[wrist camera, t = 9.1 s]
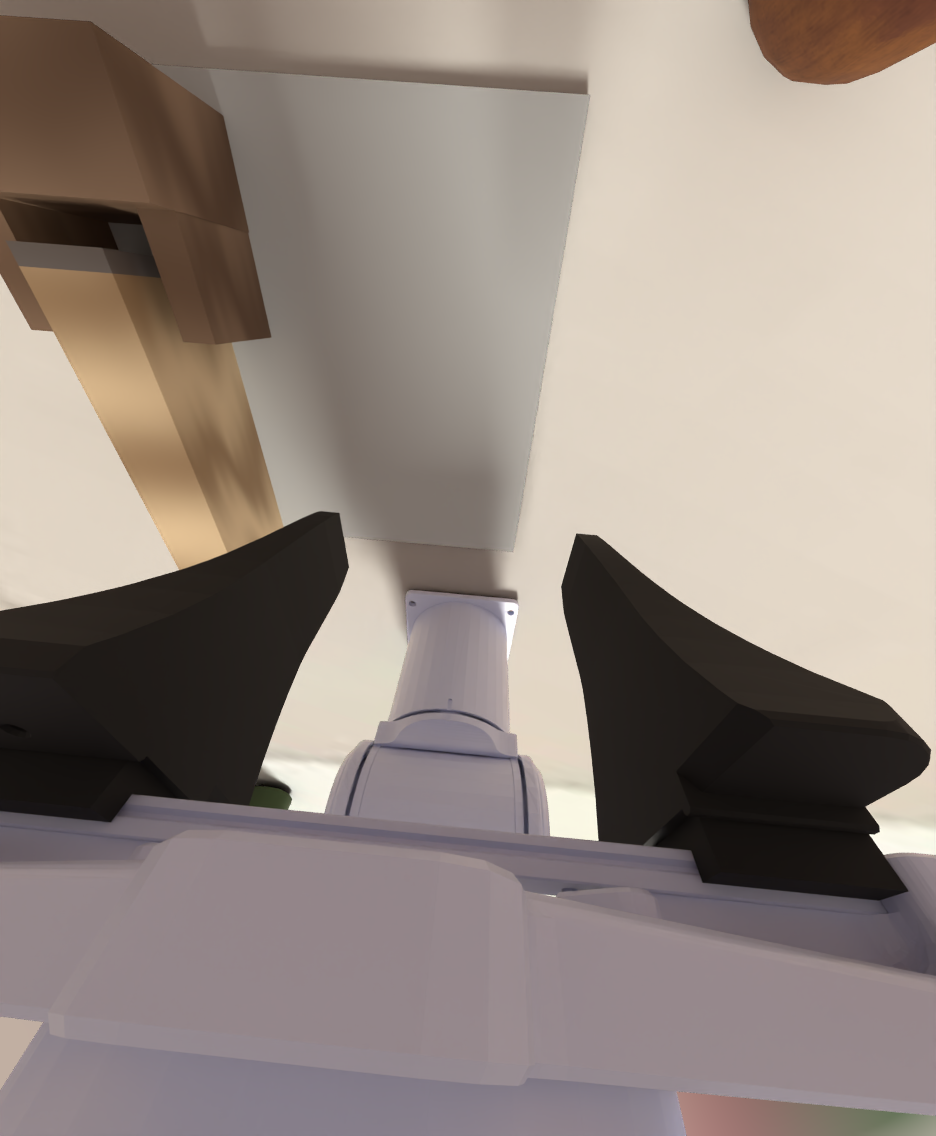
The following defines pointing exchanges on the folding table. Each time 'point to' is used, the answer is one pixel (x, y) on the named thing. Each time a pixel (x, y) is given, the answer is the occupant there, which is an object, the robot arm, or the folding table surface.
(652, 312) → the folding table surface
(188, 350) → the rail
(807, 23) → the wooden figurine
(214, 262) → the bracket
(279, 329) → the mat
